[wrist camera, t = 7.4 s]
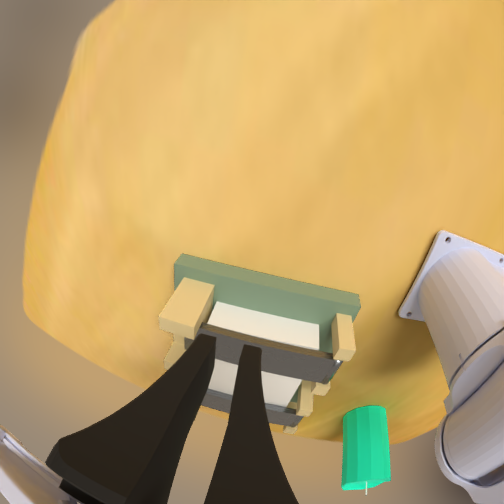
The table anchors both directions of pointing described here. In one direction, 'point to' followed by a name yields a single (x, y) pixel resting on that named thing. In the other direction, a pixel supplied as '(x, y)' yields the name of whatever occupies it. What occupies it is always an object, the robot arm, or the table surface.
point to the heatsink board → (272, 294)
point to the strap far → (273, 412)
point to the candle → (365, 448)
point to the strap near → (272, 355)
